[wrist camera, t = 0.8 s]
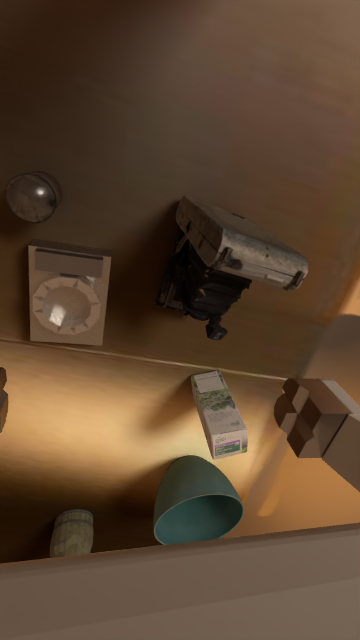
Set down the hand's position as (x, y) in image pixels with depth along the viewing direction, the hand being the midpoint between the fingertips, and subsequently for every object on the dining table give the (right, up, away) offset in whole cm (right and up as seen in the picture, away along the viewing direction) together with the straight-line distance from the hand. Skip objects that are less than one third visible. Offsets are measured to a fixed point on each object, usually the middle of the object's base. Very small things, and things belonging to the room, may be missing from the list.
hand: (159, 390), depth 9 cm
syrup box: (+5, -10, +49) cm, 51 cm away
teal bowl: (+2, -32, +61) cm, 69 cm away
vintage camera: (+3, +12, +36) cm, 38 cm away
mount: (-15, +6, +35) cm, 39 cm away
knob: (-16, +18, +28) cm, 37 cm away
